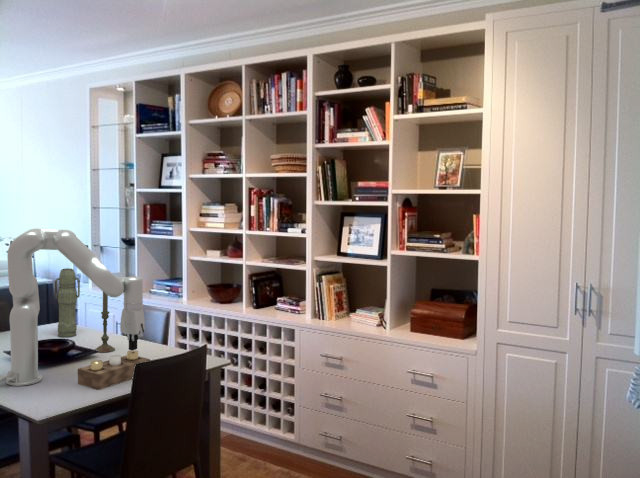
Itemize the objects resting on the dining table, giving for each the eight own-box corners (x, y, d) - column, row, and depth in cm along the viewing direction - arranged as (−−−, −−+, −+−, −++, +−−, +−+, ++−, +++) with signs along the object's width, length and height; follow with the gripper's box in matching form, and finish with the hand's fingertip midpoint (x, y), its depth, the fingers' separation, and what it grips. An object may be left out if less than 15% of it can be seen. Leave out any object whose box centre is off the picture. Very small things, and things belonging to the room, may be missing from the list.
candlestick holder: (93, 353, 268) (93, 289, 265) (95, 348, 276) (96, 286, 274) (114, 352, 270) (114, 289, 268) (115, 347, 279) (116, 286, 277)
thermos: (53, 334, 299) (53, 268, 297) (78, 332, 305) (78, 267, 302) (55, 338, 292) (55, 270, 289) (80, 336, 297) (80, 269, 295)
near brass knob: (95, 377, 222) (95, 363, 222) (88, 375, 224) (88, 361, 224) (104, 375, 226) (105, 361, 225) (97, 372, 228) (97, 359, 228)
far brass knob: (132, 366, 237) (132, 353, 237) (124, 364, 240) (124, 352, 239) (140, 364, 241) (140, 351, 241) (133, 362, 243) (133, 349, 243)
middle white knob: (114, 372, 230) (114, 358, 229) (107, 370, 232) (107, 356, 232) (123, 369, 234) (123, 356, 233) (115, 367, 236) (115, 354, 235)
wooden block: (98, 389, 219) (98, 374, 218) (77, 383, 225) (77, 368, 224) (149, 373, 241) (150, 359, 241) (130, 368, 247) (130, 354, 247)
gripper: (113, 305, 239) (113, 348, 241) (138, 310, 232) (138, 354, 233) (128, 302, 246) (127, 344, 247) (152, 307, 238) (152, 350, 240)
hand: (132, 349), depth 240 cm, fingers closed
